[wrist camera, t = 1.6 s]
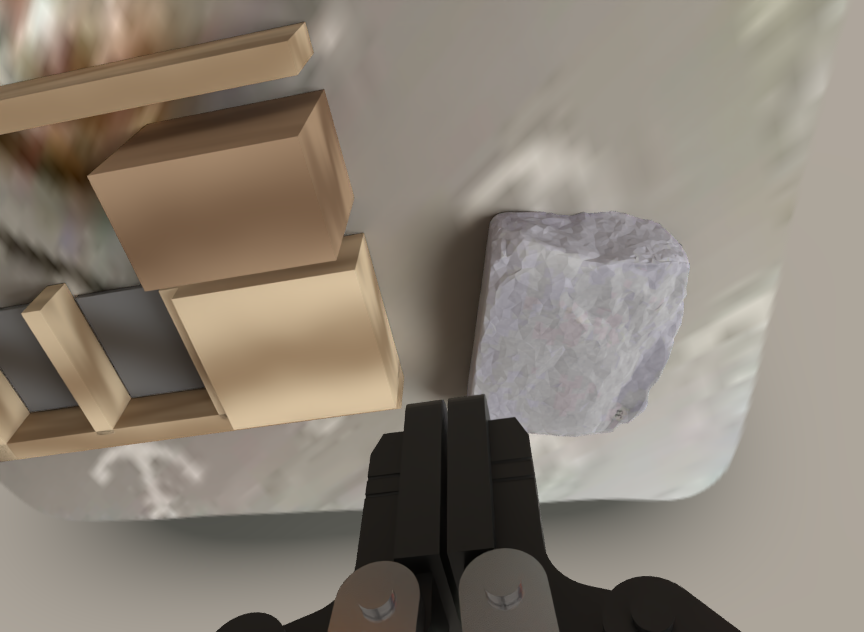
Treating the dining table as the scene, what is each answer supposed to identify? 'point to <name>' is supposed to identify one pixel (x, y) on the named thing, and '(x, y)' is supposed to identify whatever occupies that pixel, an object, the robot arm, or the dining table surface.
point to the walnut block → (229, 192)
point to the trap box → (188, 301)
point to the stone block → (575, 318)
